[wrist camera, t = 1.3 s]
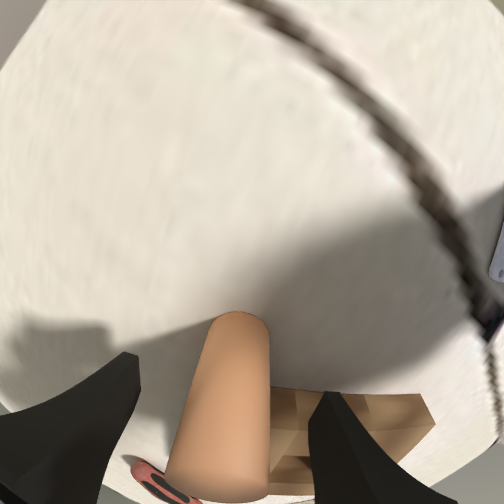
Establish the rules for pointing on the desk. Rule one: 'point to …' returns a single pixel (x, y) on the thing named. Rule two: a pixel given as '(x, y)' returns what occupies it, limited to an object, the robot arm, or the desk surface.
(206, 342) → the peg
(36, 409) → the robot arm
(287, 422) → the hole block
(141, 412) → the desk surface
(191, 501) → the screwdriver
